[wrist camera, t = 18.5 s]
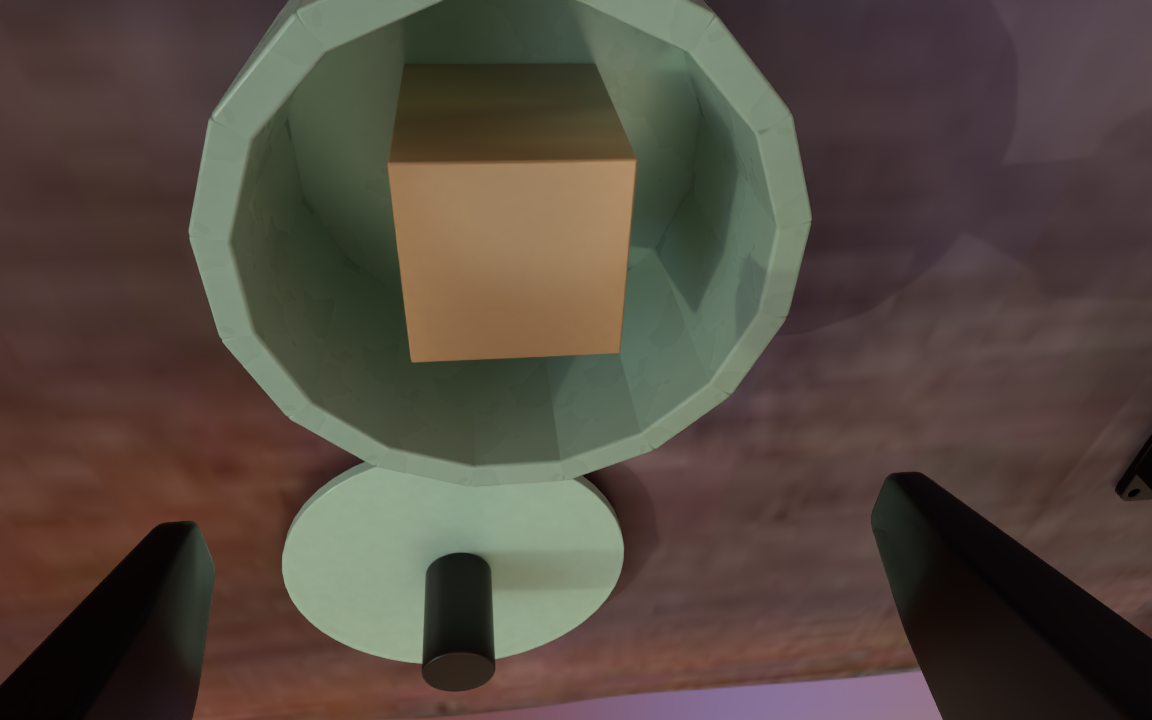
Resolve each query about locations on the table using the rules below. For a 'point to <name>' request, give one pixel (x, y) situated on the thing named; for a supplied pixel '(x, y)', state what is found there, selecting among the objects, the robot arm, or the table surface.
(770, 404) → the table surface
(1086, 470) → the table surface
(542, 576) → the lid
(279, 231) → the tin
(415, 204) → the block
